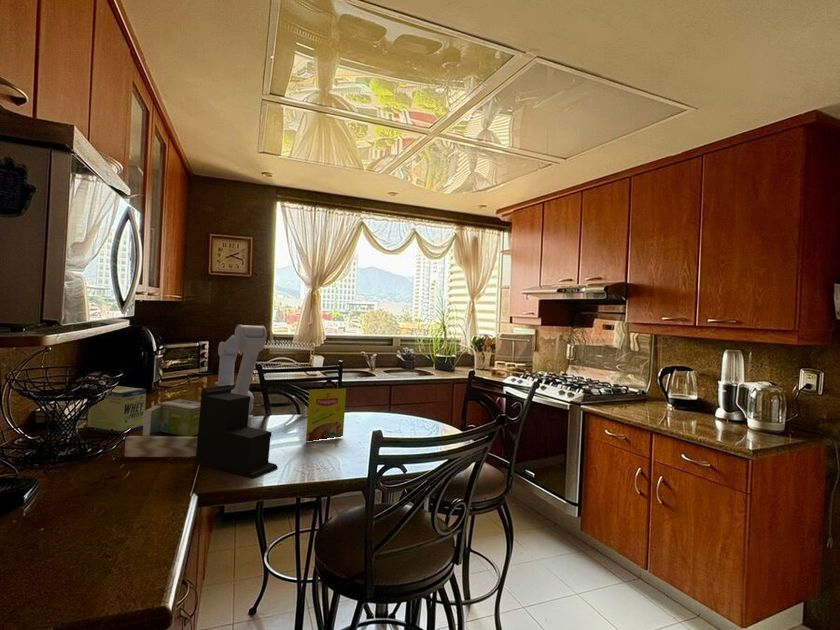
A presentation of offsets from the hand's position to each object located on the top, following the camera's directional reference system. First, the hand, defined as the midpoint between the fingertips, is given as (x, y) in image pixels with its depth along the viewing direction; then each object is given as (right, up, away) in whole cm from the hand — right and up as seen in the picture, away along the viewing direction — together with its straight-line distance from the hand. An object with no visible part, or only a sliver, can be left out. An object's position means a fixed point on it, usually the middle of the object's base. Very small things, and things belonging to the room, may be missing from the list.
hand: (224, 405), depth 176 cm
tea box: (-3, -9, -25) cm, 27 cm away
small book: (-9, -8, -33) cm, 35 cm away
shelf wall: (0, -9, -37) cm, 38 cm away
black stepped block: (+23, -10, -43) cm, 49 cm away
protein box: (-36, -7, -11) cm, 38 cm away
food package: (+43, -12, -8) cm, 45 cm away
